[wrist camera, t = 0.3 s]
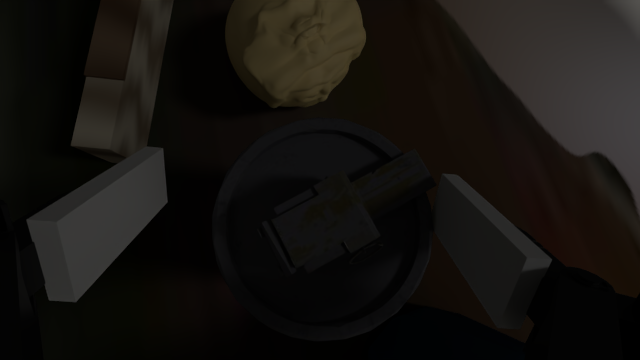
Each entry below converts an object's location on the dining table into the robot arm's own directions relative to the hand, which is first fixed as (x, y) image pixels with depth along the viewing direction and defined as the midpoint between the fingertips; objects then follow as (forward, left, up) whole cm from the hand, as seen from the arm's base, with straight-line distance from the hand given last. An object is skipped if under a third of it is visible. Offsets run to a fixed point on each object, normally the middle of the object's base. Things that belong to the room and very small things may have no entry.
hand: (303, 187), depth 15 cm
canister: (-2, -2, -17) cm, 18 cm away
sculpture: (+15, +2, -18) cm, 24 cm away
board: (+15, +17, -17) cm, 29 cm away
